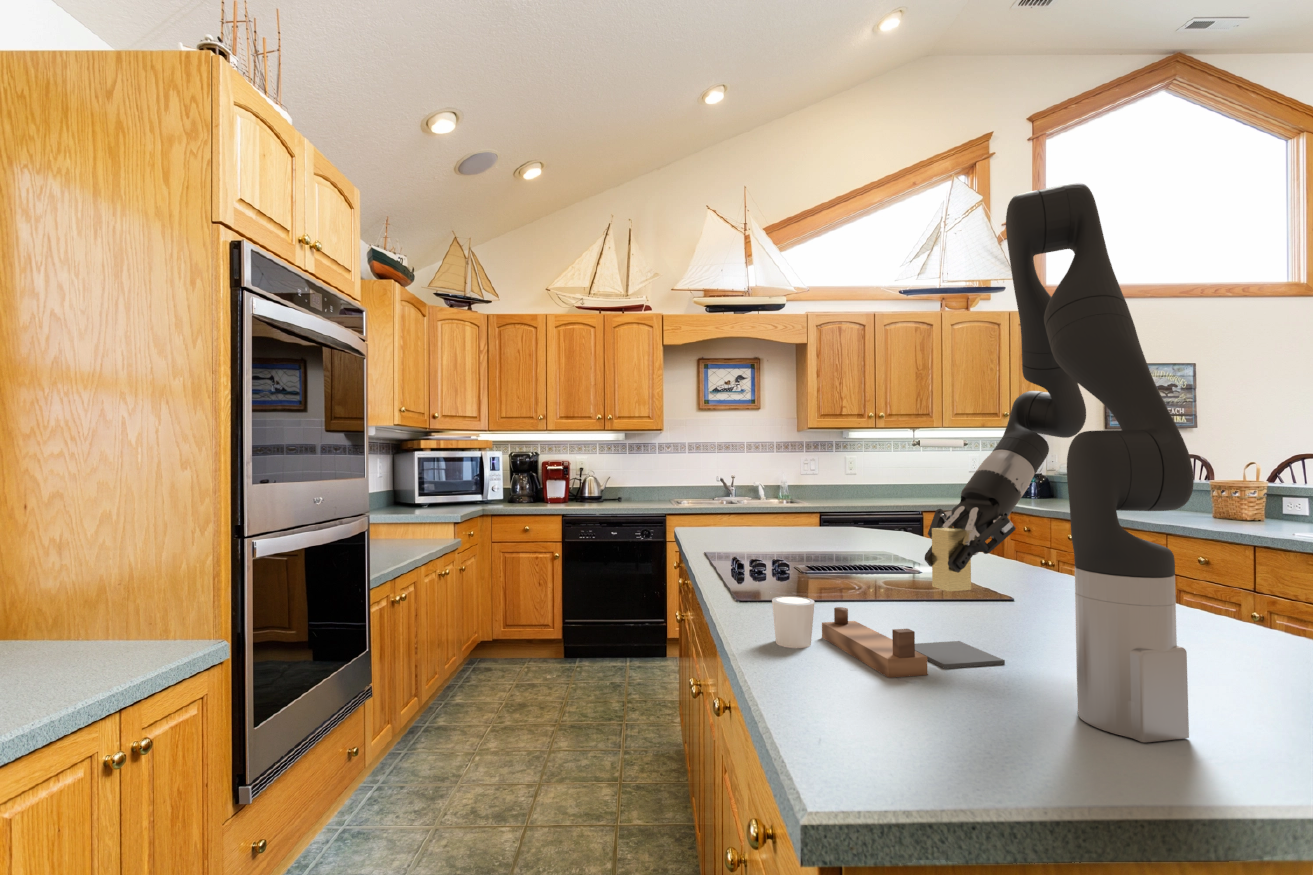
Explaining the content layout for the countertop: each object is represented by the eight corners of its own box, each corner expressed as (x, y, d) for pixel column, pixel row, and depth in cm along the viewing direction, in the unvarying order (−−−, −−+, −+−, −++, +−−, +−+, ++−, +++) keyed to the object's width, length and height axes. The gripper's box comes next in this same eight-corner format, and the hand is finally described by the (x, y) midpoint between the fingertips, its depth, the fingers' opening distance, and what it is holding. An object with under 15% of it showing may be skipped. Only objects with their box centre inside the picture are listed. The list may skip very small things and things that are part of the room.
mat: (1004, 664, 92) (1004, 660, 92) (943, 668, 90) (943, 664, 90) (959, 644, 102) (959, 640, 102) (903, 648, 100) (903, 644, 100)
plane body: (927, 674, 88) (927, 631, 88) (888, 677, 86) (887, 633, 87) (854, 635, 107) (854, 599, 108) (821, 637, 106) (821, 601, 106)
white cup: (819, 649, 99) (819, 604, 100) (775, 649, 100) (775, 604, 100) (809, 637, 106) (809, 595, 106) (768, 636, 106) (768, 595, 107)
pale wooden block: (971, 589, 96) (970, 530, 96) (948, 591, 95) (948, 530, 95) (954, 584, 99) (953, 527, 99) (932, 586, 98) (931, 528, 98)
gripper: (949, 467, 107) (893, 543, 102) (1026, 469, 93) (965, 556, 89) (973, 498, 108) (919, 574, 104) (1051, 504, 95) (994, 591, 90)
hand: (941, 565), depth 96 cm, fingers closed on pale wooden block, 4 cm apart
